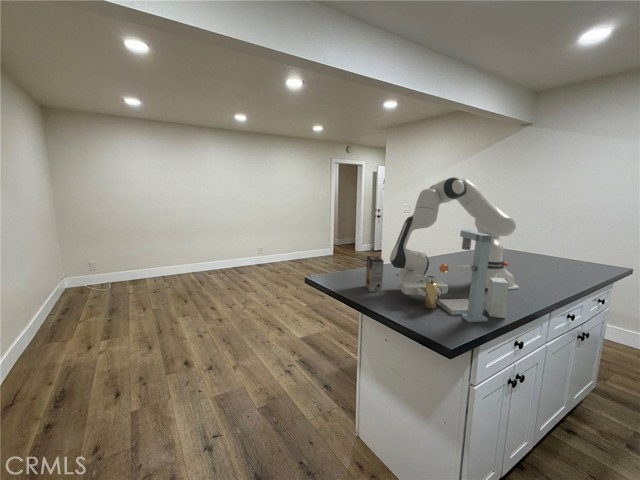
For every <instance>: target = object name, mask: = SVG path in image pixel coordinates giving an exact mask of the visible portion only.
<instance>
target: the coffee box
mask: <svg viewBox="0 0 640 480" xmlns="http://www.w3.org/2000/svg"><path fill="white" fill-rule="evenodd" d="M365 272H366V273H365V274H366V275H365V287H366V288H367V289H368V291H369V292H382V290H383V276H384V259H382V258H381V257H380V256H379V255H378V256H374V255H367V256H366V271H365Z"/></svg>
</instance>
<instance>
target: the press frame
mask: <svg viewBox="0 0 640 480" xmlns="http://www.w3.org/2000/svg"><path fill="white" fill-rule="evenodd" d="M459 236H460V238H462V242H461V250H466V251H469V250H471V246H472V241H475V244H474V252H473V262H472V265H473V266H475V267H477V270H476V271H475V272H474V271H471V277H470V278H471V280H470V287H469V288H470V289H469V297H468V300H469V304H468V313H467V314H462V315H461V319H464V320H465V321H466V322H469V323H474V322H478V323H479V322H488V320H489V318H488V317H487V316H485V315H484V314H482V309H484V308H483V307H484V300H485V299H484V298H485V291H486V288H485V284H486V276H487V268H488V259H489V251H490V243H491V235H487V234H482V233H478V231H472V230H467V229H466V230H463V229H462V230H460V233H459Z"/></svg>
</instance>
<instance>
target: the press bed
mask: <svg viewBox="0 0 640 480" xmlns="http://www.w3.org/2000/svg"><path fill="white" fill-rule="evenodd" d="M468 304H469V298H457V299H456V298H453V299H450V298H449V299H448V298H447V299H446V298H445V299H437V303H436V305H438V306H440V308H442V309H443V310H445V311H446V312H448V313H449V315H452V316H462V314H467V313H468ZM484 314H485V309H484V308H483V309H482V315H484Z"/></svg>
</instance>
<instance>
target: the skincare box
mask: <svg viewBox="0 0 640 480" xmlns="http://www.w3.org/2000/svg"><path fill="white" fill-rule="evenodd" d="M508 284H509V283H508V282H507V281H506V280H505V279H504V278H493V277H489V284H488V289H487V299H486V307H485V308H486V309H485V310H486V312H487V314H488V315H489V317H492V318H498V319H499V318H500V319H506V315H507V303H508V291H509V290H508Z"/></svg>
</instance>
